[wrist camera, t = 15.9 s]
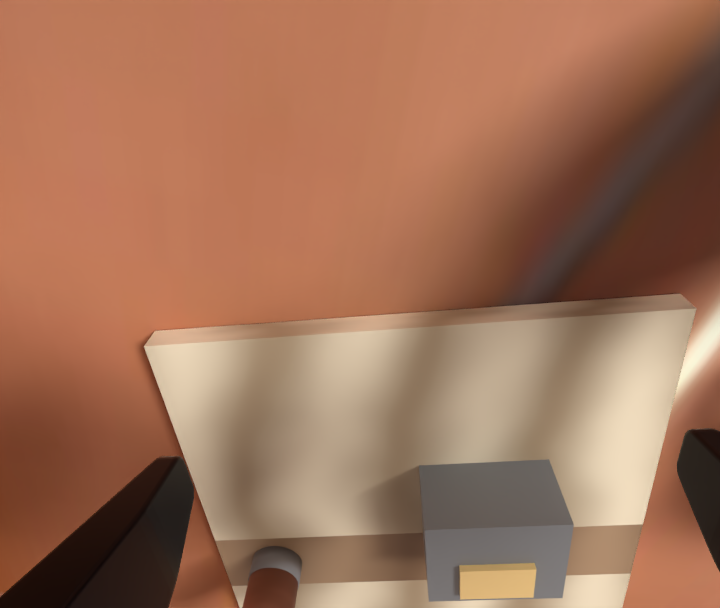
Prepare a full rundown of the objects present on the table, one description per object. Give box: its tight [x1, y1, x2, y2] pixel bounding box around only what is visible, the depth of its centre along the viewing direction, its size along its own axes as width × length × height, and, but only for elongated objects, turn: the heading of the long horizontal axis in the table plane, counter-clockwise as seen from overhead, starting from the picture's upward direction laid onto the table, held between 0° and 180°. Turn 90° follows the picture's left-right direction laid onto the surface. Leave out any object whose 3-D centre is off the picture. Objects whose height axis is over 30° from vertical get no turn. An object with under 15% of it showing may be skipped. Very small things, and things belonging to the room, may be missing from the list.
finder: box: [419, 459, 574, 602], centre depth 24 cm, size 6×5×4 cm
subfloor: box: [144, 294, 696, 608], centre depth 26 cm, size 22×20×1 cm
